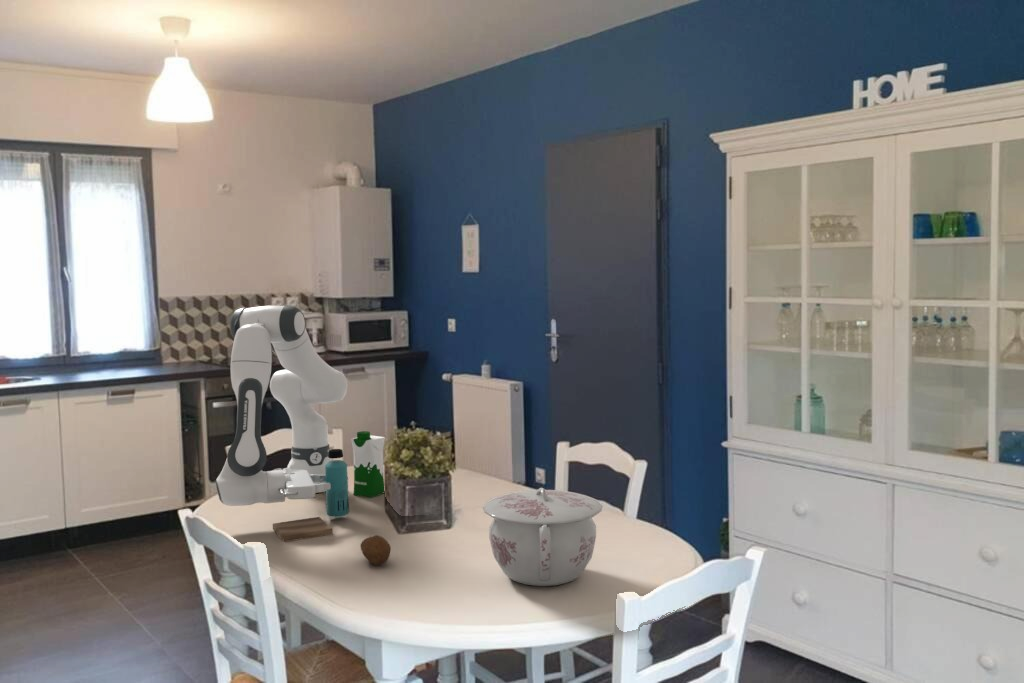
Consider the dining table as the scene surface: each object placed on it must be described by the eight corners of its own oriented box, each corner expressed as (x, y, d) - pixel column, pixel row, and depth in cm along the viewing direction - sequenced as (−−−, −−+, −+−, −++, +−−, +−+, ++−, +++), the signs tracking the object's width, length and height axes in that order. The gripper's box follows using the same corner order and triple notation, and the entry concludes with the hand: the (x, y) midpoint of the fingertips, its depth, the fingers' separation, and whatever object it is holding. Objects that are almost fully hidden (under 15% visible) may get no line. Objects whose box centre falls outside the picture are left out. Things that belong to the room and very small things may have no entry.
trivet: (272, 528, 248) (272, 523, 248) (319, 522, 254) (319, 516, 254) (284, 541, 236) (284, 535, 236) (332, 534, 242) (332, 528, 242)
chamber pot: (532, 549, 227) (532, 468, 225) (626, 572, 210) (625, 484, 208) (457, 581, 205) (455, 491, 204) (553, 609, 188) (553, 511, 186)
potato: (378, 554, 225) (378, 527, 224) (401, 566, 216) (400, 538, 215) (353, 560, 221) (353, 532, 220) (375, 572, 212) (374, 543, 211)
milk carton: (349, 495, 282) (347, 432, 281) (368, 489, 290) (367, 427, 288) (370, 499, 278) (369, 435, 276) (389, 492, 285) (388, 430, 284)
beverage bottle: (337, 523, 252) (334, 452, 250) (321, 519, 256) (318, 450, 254) (354, 518, 257) (352, 448, 256) (338, 514, 261) (336, 446, 260)
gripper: (280, 483, 241) (332, 479, 245) (274, 467, 260) (323, 463, 264) (281, 506, 241) (333, 501, 246) (275, 488, 260) (324, 484, 265)
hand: (328, 481), depth 255 cm, fingers open, 8 cm apart
